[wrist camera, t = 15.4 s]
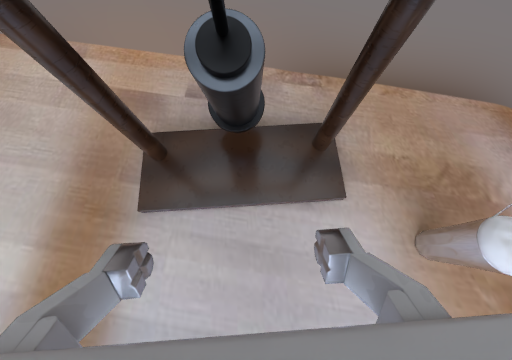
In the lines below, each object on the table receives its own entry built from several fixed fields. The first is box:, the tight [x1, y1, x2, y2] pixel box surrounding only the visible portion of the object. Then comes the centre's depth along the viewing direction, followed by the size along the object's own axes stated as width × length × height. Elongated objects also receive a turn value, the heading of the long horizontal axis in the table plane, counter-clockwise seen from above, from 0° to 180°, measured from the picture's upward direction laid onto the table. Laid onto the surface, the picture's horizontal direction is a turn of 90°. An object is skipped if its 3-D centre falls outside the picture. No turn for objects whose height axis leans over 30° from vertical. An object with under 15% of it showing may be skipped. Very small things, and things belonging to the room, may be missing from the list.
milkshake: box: [415, 204, 512, 276], centre depth 19 cm, size 4×5×10 cm
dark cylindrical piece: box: [184, 0, 265, 133], centre depth 14 cm, size 8×6×18 cm
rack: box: [0, 0, 435, 213], centre depth 15 cm, size 10×24×25 cm, turn 94°
